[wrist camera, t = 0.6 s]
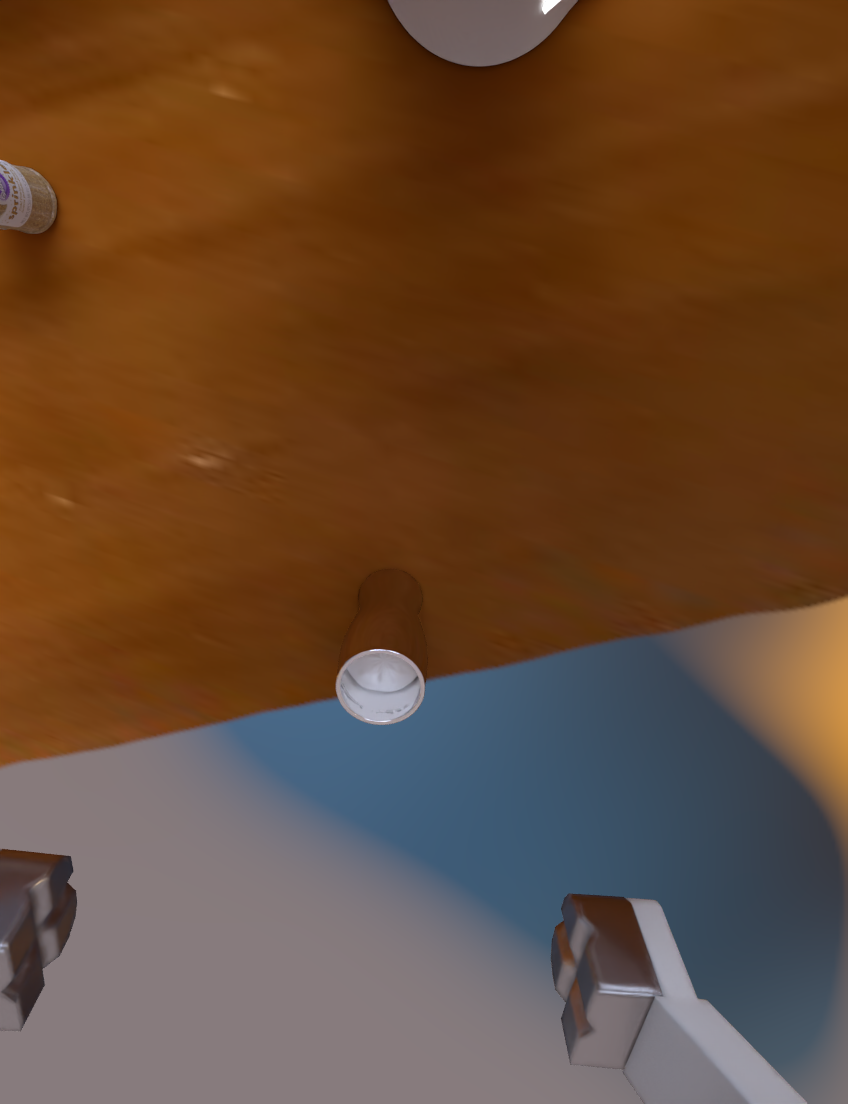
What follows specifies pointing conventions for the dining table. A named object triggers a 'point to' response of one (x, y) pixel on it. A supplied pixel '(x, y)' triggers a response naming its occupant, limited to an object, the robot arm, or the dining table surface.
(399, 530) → the dining table surface
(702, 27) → the dining table surface
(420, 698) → the beer glass
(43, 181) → the sprinkles bottle
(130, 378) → the dining table surface
